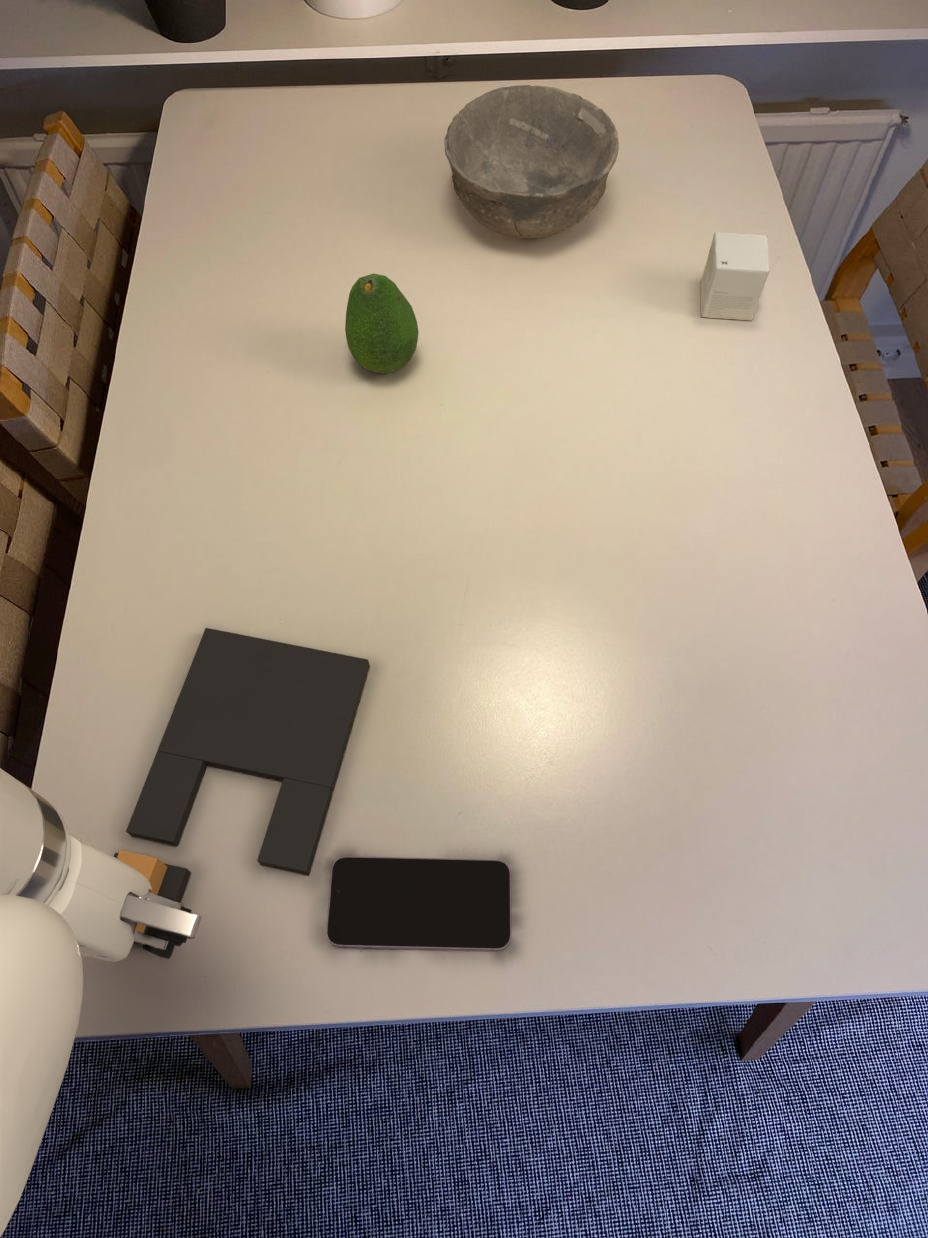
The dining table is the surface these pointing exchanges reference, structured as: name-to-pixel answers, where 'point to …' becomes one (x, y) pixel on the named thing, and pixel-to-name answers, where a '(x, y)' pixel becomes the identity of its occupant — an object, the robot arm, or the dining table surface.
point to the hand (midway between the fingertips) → (104, 915)
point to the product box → (734, 275)
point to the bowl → (530, 159)
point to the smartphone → (419, 903)
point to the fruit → (380, 325)
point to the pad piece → (157, 877)
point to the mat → (256, 738)
